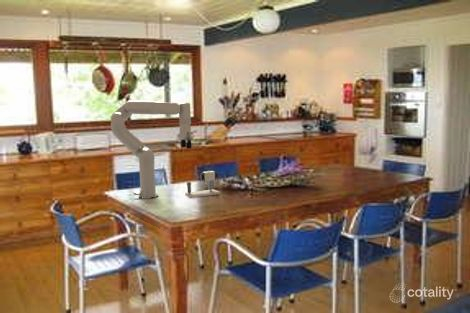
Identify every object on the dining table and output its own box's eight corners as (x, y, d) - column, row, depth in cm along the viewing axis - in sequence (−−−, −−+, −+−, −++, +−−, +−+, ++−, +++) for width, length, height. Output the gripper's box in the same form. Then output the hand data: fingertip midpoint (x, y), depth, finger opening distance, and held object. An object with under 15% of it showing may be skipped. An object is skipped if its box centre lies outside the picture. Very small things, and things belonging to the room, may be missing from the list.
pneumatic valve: (218, 186, 350) (217, 169, 348) (202, 188, 345) (201, 171, 343) (215, 185, 355) (214, 168, 353) (199, 187, 350) (198, 170, 349)
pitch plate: (190, 197, 315) (189, 183, 314) (184, 195, 324) (184, 180, 323) (219, 194, 324) (219, 179, 323) (213, 191, 333) (212, 177, 332)
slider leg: (209, 191, 324) (209, 180, 324) (207, 190, 327) (207, 179, 326) (213, 190, 326) (213, 180, 325) (211, 190, 328) (211, 179, 328)
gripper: (175, 121, 330) (176, 147, 333) (184, 122, 315) (185, 149, 317) (185, 120, 334) (186, 146, 336) (195, 121, 318) (196, 148, 320)
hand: (186, 147), depth 327 cm, fingers open, 9 cm apart
